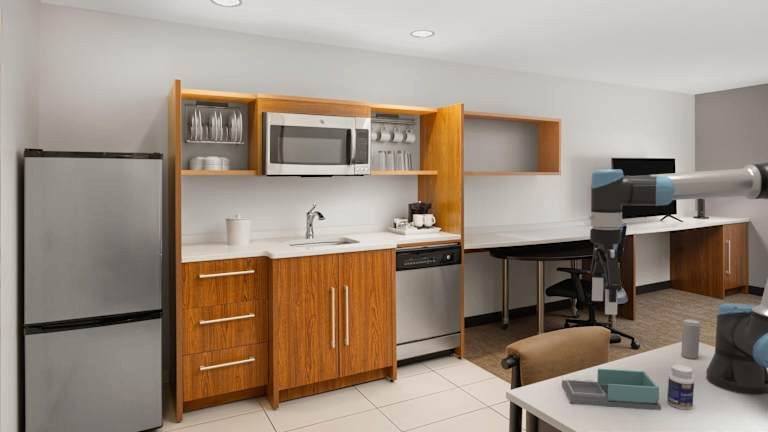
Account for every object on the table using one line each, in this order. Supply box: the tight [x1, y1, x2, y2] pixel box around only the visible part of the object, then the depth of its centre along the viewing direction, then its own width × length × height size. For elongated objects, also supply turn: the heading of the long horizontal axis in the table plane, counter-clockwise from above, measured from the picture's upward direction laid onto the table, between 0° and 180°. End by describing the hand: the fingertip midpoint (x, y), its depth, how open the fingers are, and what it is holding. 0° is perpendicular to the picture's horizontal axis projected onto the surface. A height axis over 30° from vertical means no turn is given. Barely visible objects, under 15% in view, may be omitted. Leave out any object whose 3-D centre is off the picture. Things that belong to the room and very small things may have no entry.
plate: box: [561, 379, 662, 411], centre depth 135 cm, size 22×12×2 cm, turn 81°
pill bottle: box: [666, 364, 695, 410], centre depth 130 cm, size 6×6×10 cm
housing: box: [596, 368, 660, 404], centre depth 134 cm, size 12×11×4 cm
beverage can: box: [681, 318, 701, 360], centre depth 164 cm, size 5×5×12 cm
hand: (603, 307), depth 134 cm, fingers open, 13 cm apart
